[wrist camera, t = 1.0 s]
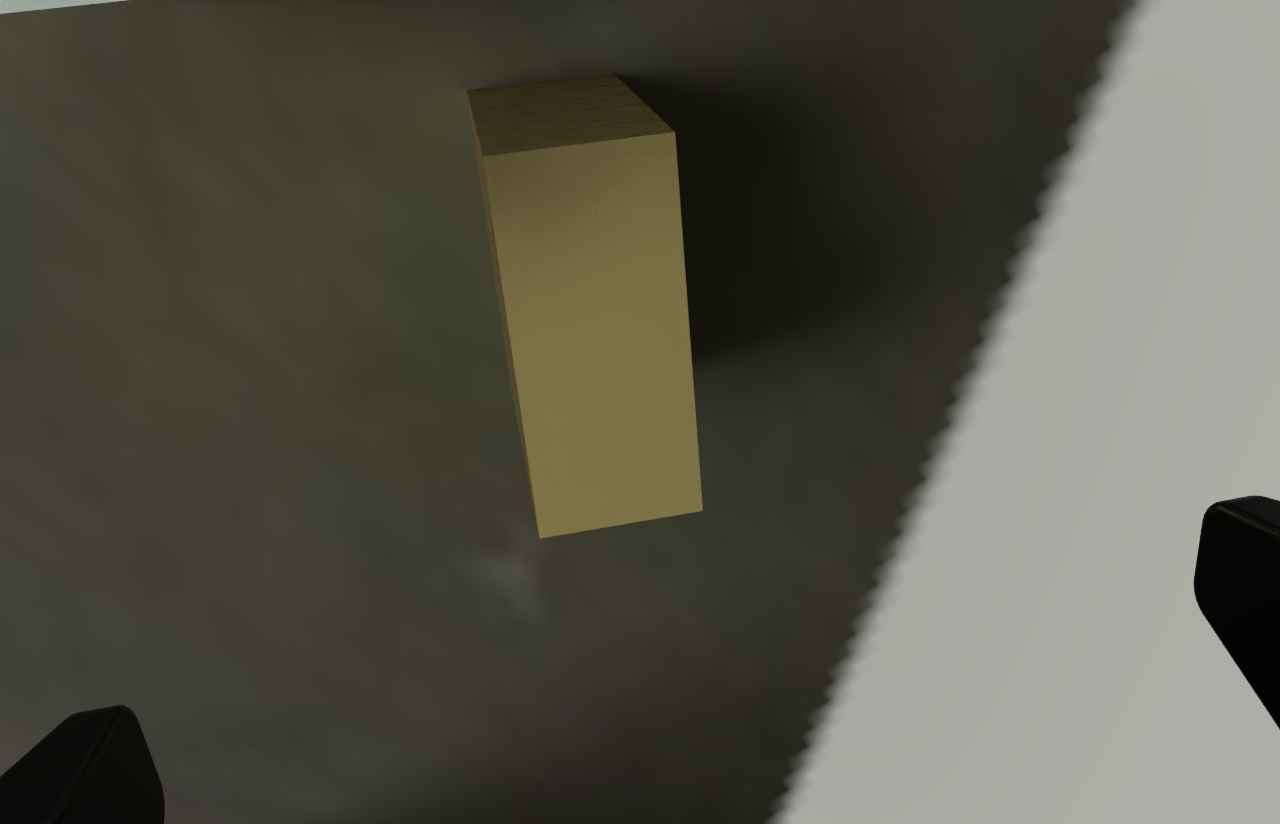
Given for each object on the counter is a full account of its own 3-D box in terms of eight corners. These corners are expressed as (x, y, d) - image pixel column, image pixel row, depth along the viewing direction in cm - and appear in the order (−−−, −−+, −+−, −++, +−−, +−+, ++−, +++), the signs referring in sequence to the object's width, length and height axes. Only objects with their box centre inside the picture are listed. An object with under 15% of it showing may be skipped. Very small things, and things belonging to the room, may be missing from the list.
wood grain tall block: (641, 377, 21) (703, 510, 16) (512, 397, 21) (539, 538, 16) (612, 72, 18) (674, 131, 14) (466, 90, 18) (482, 156, 14)
